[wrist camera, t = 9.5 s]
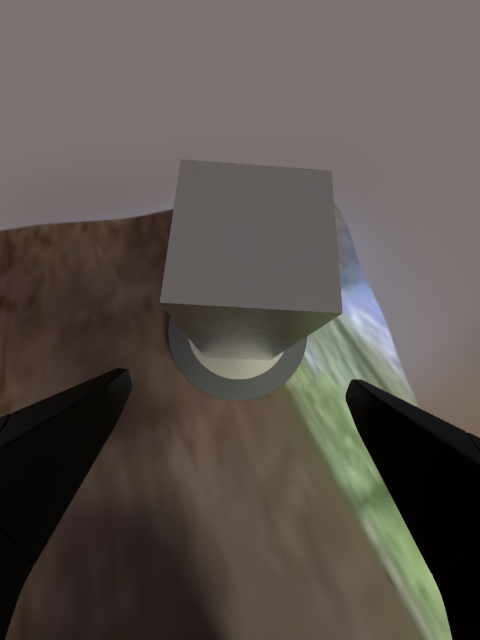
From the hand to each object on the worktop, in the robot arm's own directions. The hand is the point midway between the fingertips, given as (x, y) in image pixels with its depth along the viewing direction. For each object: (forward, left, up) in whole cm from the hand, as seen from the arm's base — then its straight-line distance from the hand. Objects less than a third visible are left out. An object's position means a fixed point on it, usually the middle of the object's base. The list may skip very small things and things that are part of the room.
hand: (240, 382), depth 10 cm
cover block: (+4, +1, -8) cm, 9 cm away
